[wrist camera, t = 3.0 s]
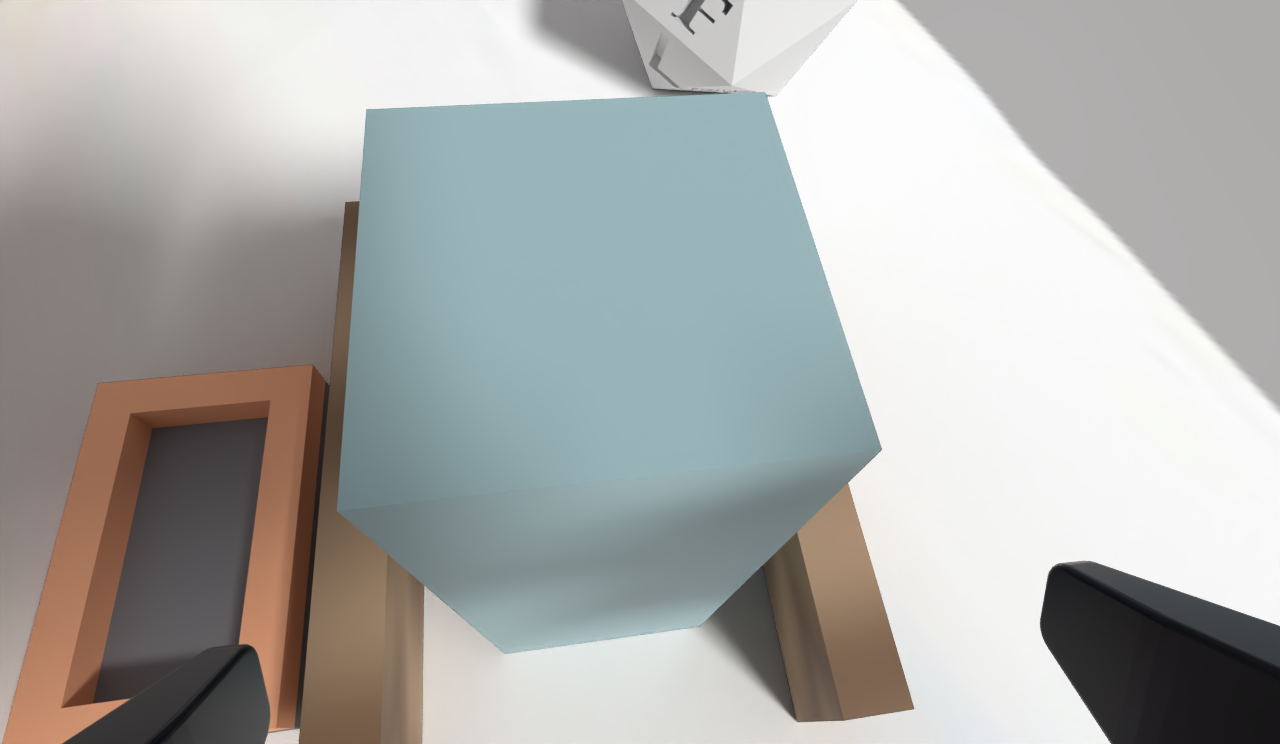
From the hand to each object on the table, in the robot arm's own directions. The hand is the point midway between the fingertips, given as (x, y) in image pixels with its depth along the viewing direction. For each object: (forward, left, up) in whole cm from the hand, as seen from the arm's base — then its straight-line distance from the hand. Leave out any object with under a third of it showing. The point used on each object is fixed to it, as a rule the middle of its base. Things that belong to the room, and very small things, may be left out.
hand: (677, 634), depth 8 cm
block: (+4, +1, -10) cm, 11 cm away
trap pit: (+5, +11, -10) cm, 16 cm away
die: (+23, -6, -11) cm, 26 cm away
